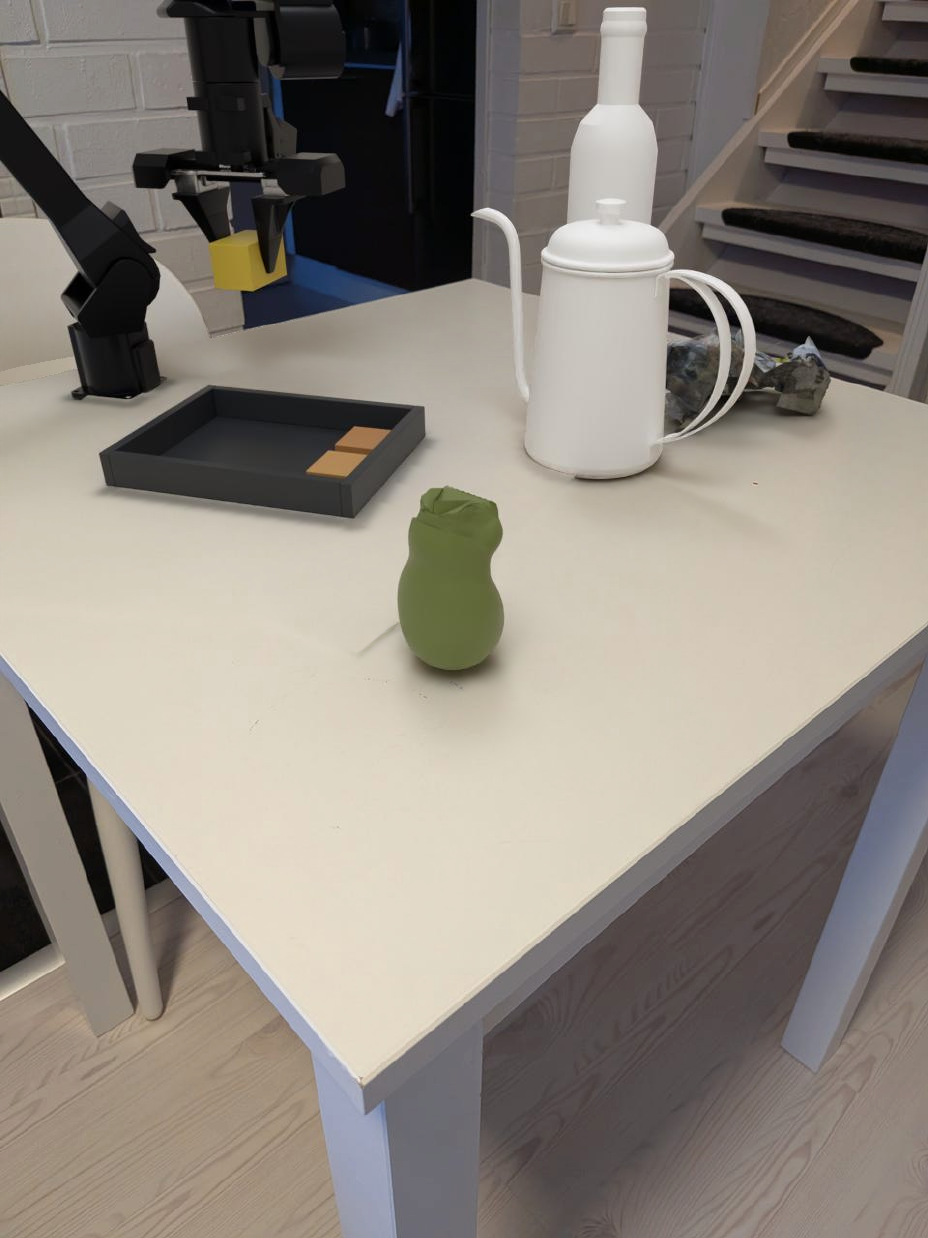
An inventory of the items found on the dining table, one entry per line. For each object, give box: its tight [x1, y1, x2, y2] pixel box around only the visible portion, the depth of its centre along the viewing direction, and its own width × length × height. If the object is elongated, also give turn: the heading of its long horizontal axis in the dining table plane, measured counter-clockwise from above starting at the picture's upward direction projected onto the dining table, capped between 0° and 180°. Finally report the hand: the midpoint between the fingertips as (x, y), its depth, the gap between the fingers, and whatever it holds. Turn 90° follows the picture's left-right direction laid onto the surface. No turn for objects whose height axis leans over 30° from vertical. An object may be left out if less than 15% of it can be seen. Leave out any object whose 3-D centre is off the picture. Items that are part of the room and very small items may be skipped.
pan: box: [98, 384, 426, 519], centre depth 71 cm, size 20×16×3 cm
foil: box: [664, 326, 832, 433], centre depth 79 cm, size 12×11×15 cm
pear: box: [396, 485, 505, 671], centre depth 47 cm, size 6×5×10 cm
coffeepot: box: [470, 198, 757, 480], centre depth 68 cm, size 11×25×19 cm, turn 47°
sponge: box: [208, 229, 288, 292], centre depth 87 cm, size 4×7×4 cm, turn 163°
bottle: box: [566, 6, 659, 226], centre depth 84 cm, size 8×8×30 cm
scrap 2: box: [335, 426, 391, 455], centre depth 71 cm, size 4×4×2 cm
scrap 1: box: [306, 451, 367, 479], centre depth 67 cm, size 4×4×2 cm
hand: (250, 271), depth 87 cm, fingers closed on sponge, 4 cm apart
